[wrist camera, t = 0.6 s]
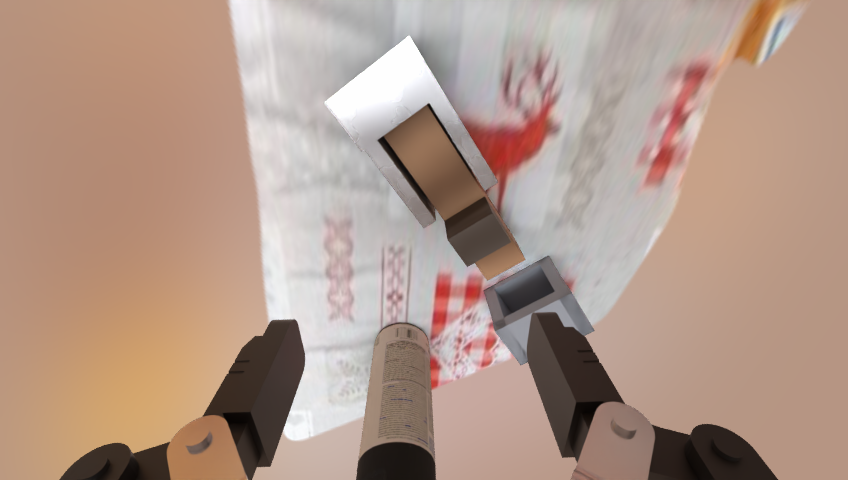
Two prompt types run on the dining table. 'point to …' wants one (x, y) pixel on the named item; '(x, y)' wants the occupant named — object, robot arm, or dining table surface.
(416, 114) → the walnut bar
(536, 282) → the socket
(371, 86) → the channel
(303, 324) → the dining table surface
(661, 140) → the dining table surface
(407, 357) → the spray can
